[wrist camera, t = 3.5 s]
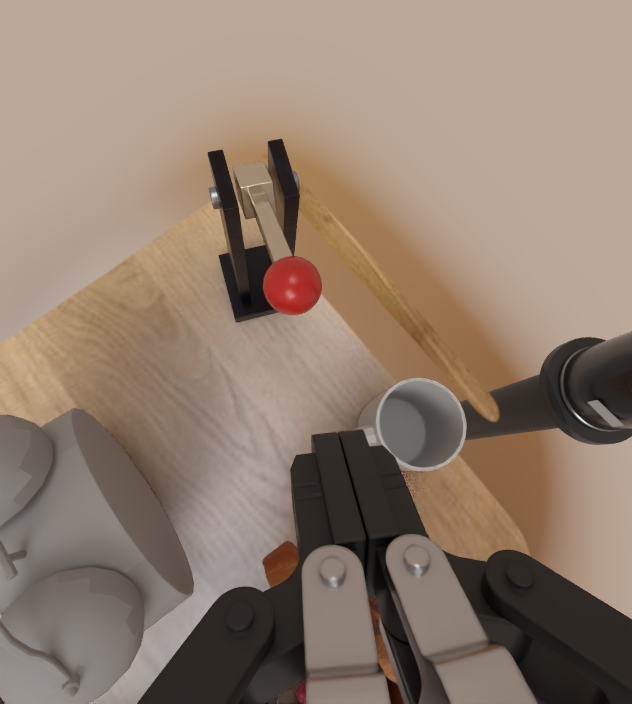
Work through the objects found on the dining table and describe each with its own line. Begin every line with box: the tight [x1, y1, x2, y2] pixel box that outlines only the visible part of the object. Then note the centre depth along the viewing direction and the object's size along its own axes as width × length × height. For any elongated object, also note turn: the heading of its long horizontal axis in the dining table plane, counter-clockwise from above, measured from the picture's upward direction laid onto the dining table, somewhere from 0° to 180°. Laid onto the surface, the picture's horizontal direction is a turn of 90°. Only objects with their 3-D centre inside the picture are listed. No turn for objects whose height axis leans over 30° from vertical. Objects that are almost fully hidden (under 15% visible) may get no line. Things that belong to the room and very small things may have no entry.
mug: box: [263, 541, 404, 704], centre depth 32 cm, size 15×8×15 cm, turn 35°
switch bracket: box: [208, 139, 300, 322], centre depth 37 cm, size 7×7×18 cm
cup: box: [348, 378, 466, 471], centre depth 39 cm, size 7×10×9 cm
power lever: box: [232, 161, 322, 315], centre depth 27 cm, size 13×3×3 cm, turn 16°
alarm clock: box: [0, 408, 194, 704], centre depth 28 cm, size 16×9×22 cm, turn 35°
